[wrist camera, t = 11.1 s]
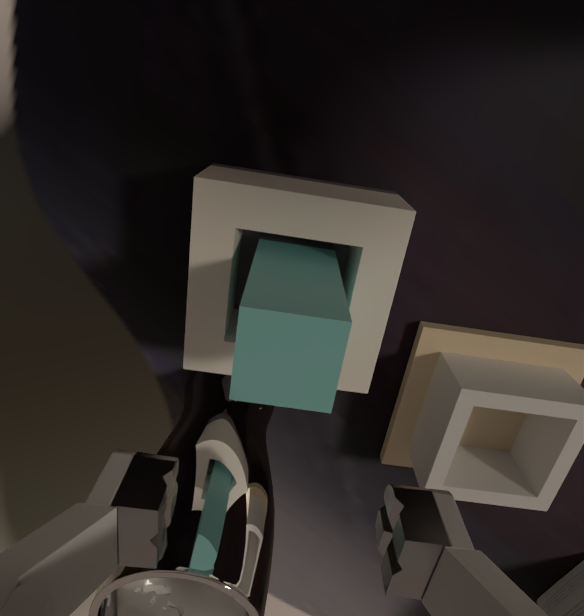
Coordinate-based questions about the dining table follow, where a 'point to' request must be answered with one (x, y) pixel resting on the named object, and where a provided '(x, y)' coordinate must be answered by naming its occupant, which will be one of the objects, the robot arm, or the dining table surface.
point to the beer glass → (208, 515)
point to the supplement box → (565, 595)
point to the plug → (291, 326)
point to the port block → (297, 223)
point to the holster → (488, 415)
